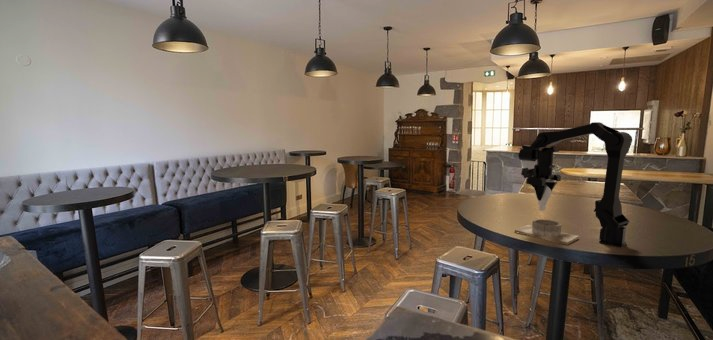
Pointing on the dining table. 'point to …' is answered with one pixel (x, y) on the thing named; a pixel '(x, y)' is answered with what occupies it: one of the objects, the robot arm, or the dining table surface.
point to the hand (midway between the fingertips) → (542, 199)
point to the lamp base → (556, 239)
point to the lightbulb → (544, 199)
